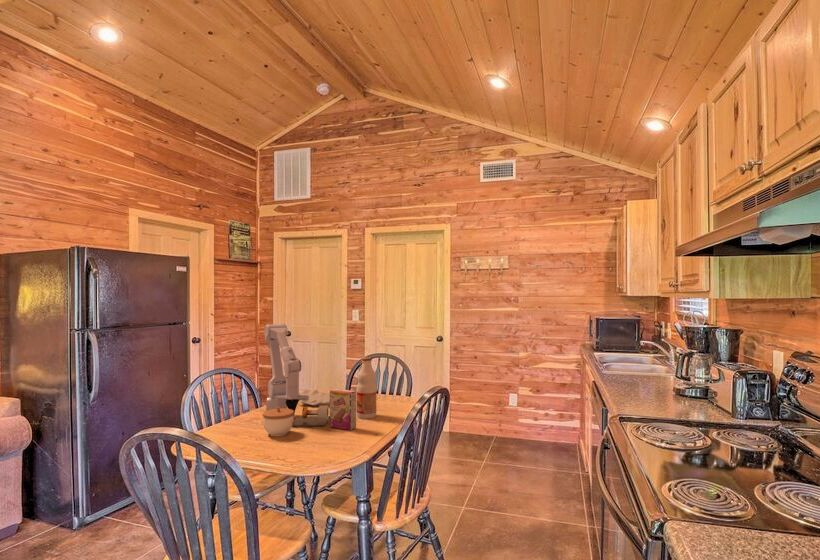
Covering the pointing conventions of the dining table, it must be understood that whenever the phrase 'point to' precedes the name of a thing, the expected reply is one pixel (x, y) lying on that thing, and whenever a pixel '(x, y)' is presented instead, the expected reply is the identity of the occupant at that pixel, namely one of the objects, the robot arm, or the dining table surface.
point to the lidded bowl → (278, 421)
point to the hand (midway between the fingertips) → (292, 416)
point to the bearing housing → (314, 419)
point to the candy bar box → (343, 409)
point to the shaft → (308, 412)
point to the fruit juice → (366, 390)
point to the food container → (316, 398)
